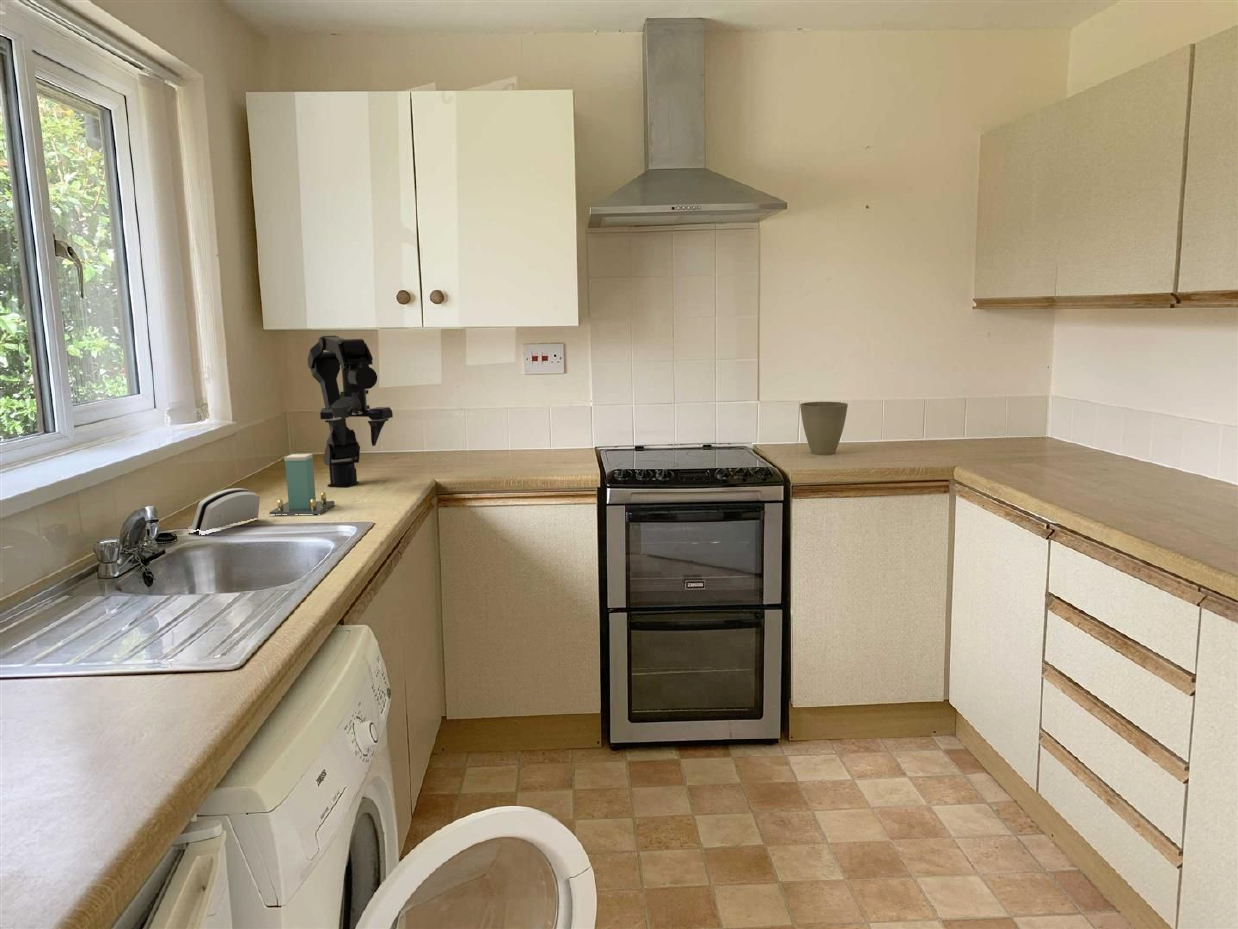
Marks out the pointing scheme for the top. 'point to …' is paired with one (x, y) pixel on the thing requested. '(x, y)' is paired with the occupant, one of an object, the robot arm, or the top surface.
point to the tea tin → (300, 480)
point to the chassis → (316, 508)
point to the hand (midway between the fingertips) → (358, 445)
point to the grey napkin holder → (226, 509)
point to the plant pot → (823, 425)
